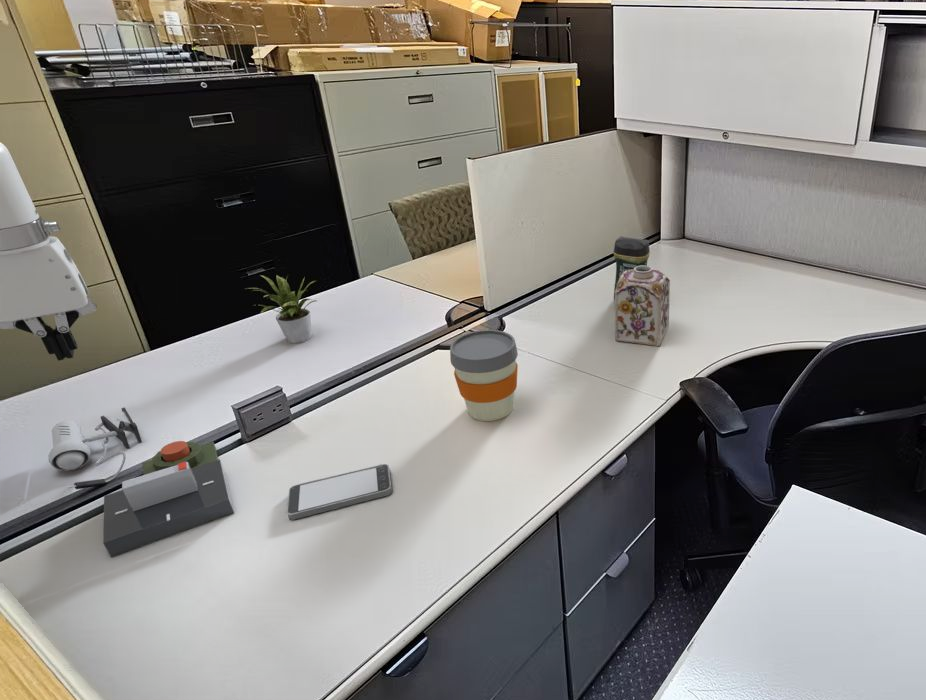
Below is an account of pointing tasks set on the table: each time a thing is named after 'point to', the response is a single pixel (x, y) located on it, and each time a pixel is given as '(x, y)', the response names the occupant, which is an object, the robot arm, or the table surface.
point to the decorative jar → (642, 306)
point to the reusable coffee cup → (486, 372)
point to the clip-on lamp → (76, 453)
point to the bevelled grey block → (159, 486)
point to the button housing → (195, 458)
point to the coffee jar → (629, 255)
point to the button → (175, 451)
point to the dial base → (166, 512)
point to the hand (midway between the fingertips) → (66, 355)
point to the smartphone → (338, 491)
